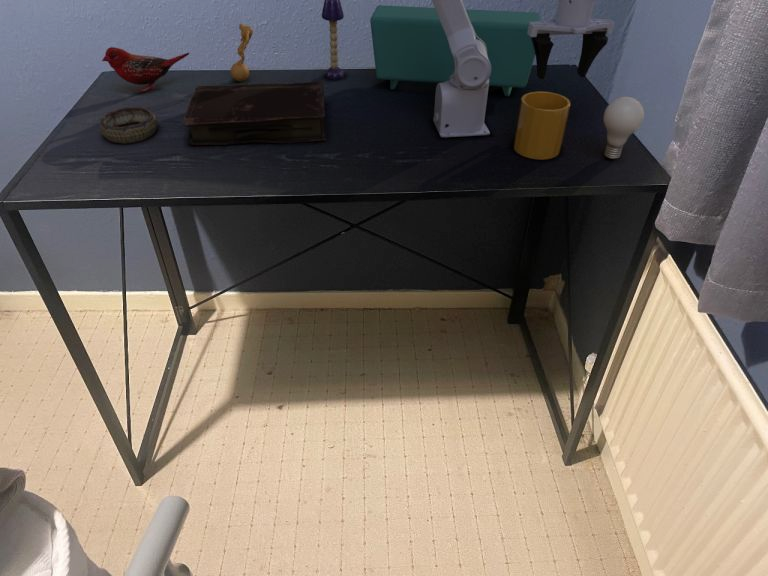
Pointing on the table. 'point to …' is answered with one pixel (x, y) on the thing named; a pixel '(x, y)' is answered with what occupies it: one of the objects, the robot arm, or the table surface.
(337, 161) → the table surface
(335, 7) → the toy lamp
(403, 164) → the table surface
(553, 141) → the mug
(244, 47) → the figurine
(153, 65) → the decorative bird figurine
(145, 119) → the decorative ring
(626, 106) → the lightbulb
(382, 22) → the radio
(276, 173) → the table surface
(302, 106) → the diary
